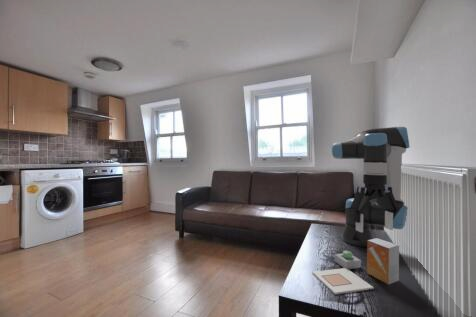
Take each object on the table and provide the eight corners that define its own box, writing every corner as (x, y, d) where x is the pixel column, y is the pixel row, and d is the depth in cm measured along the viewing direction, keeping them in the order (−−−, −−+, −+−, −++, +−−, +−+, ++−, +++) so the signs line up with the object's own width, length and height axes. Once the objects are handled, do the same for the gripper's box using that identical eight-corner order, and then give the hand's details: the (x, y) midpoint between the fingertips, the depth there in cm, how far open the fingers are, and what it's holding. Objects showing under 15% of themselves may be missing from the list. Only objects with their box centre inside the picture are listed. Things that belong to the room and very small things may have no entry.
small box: (366, 273, 81) (366, 239, 81) (376, 270, 84) (376, 237, 84) (388, 285, 74) (389, 248, 74) (399, 281, 76) (399, 245, 77)
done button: (347, 255, 90) (347, 250, 90) (353, 259, 87) (353, 253, 87) (341, 256, 90) (341, 251, 90) (346, 259, 86) (346, 254, 86)
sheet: (346, 269, 84) (346, 267, 84) (373, 289, 71) (373, 287, 71) (312, 273, 81) (312, 271, 81) (334, 294, 68) (334, 292, 68)
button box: (348, 259, 92) (348, 252, 92) (360, 267, 86) (360, 260, 86) (334, 261, 91) (334, 254, 91) (346, 269, 84) (346, 261, 84)
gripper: (391, 173, 86) (391, 225, 86) (339, 173, 81) (339, 228, 81) (410, 174, 79) (410, 231, 79) (354, 174, 73) (354, 235, 73)
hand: (374, 230), depth 80 cm, fingers open, 13 cm apart
